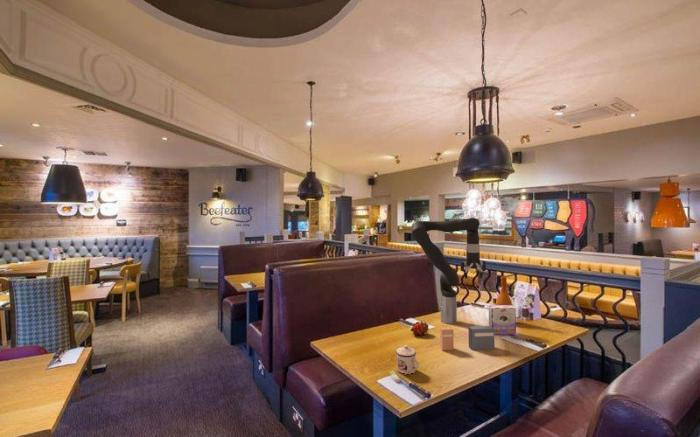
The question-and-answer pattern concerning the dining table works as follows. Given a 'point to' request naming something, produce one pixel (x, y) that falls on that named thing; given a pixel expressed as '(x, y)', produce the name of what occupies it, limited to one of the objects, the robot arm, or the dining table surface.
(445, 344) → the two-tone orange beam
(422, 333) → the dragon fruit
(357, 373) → the dining table surface
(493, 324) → the candy box
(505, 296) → the brown tapered piece
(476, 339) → the gray block
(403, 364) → the teacup with lid
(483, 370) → the dining table surface
